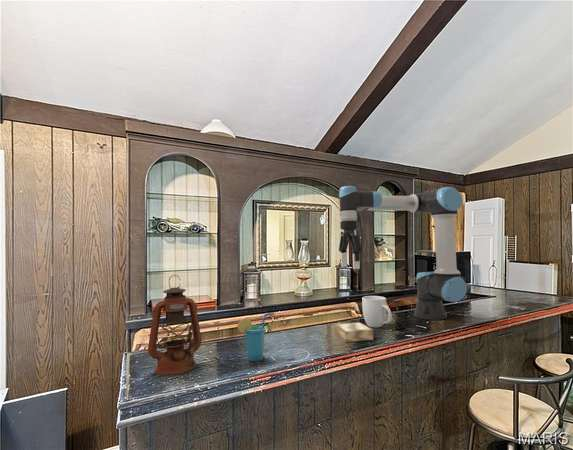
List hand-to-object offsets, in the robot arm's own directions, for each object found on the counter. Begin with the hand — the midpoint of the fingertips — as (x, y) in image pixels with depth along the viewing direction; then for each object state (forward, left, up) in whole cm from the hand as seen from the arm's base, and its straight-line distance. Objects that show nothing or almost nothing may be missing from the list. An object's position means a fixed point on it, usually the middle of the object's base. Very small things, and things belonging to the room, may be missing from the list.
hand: (350, 267), depth 143 cm
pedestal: (+3, +8, -28) cm, 29 cm away
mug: (-14, -4, -28) cm, 32 cm away
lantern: (+72, +23, -28) cm, 80 cm away
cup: (+45, +22, -28) cm, 57 cm away
